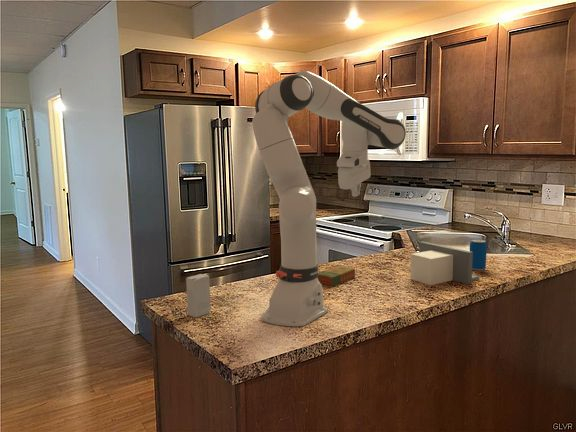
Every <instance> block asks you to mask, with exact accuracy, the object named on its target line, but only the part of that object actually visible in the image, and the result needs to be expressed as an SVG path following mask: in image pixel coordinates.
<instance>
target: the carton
mask: <svg viewBox="0 0 576 432" xmlns="http://www.w3.org/2000/svg"><path fill="white" fill-rule="evenodd" d="M317 278H318V280H319V282H320V283H321V285H322V286H325V287H329V288H333V287H336V286H338V285H341V284H343V283H346V282H348V281H350V280H353V279H355V278H356V269H355V268H354V267H349V266H343V265H335V266H333V267H330V268H327V269H325V270H322V271H318V277H317Z"/></svg>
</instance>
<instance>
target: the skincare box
mask: <svg viewBox="0 0 576 432" xmlns="http://www.w3.org/2000/svg"><path fill="white" fill-rule="evenodd" d="M185 282H186V283H185V284H186V286H185V287H186V303H187V308H186V309H187V315H188V316H189V317H193V318H199V317H202V316H204V315H207V314H209V313H211V311H212V309H211V285H210V276H209V275H208V274H203V273H199V274H196V275H191V276H188V277H185Z"/></svg>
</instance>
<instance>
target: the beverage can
mask: <svg viewBox="0 0 576 432" xmlns="http://www.w3.org/2000/svg"><path fill="white" fill-rule="evenodd" d="M487 248H488V243H487V240H485V239H479V238H478V239H476V238H474V239H471V240H470V242H469V251H471V252H473V260H472V271H484V270H485V269H487Z"/></svg>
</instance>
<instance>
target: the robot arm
mask: <svg viewBox="0 0 576 432" xmlns="http://www.w3.org/2000/svg"><path fill="white" fill-rule="evenodd" d="M254 105H255V106H254V109H255V114H254V116H253V117H252V121H251V123H252V124H251V125H252V130H253V134H254V138H255V142H256V145H257V148H258V151H259V154H260V156H261V159H262V162H263V165H264V167H265V169H266V173H267V175H268V176H269V178H270V181H271V183H272V186H273V187H274V189H275V192H276V194H277V196H278V198H279V202H278V218H279V229H280V230H279V231H280V245H281V246H280V248H281V249H280V251H281V252H280V254H281V255H280V256H281V257H280V258H281V259H280V260H281V261H280V263H281V264H280V267H279V270H276V272H275V276H276V278H278V281H277V283H276V285H275V287H274V289H273V291H272V294H271V295H270V297H269V305H268V308H267V309H266V310H265V311H264V313H263V314H262V316H261V318H260V319H261V321H263V322H265V323H268V324H271V325H277V326H283V327H284V326H285V327H304V326H306V325H308V324H309V323H311V322H314V320H316V319H318V318H320V317H321V316H324V315H326V313H328V312H329V309H328V307H327V306H324V291H323V285H321V283H320V282H319V280H318V278H317V277H318V273H319V266H318V264H317V263H318V262H317V261H318V260H317V252H318V251H317V197H316V194H315V191H314V189H313V186H312V183H311V181H310V178H309V176H308V174H307V170H306V168H305V166H304V164H303V160H302V158H301V155H300V153H299V151H298V148H297V145H296V142H295V139H294V136H293V134H292V132H291V129H290V127H289V118H290V117H292V116H294V115H295V114H297V113H299V112H300V111H302V110H304V109H306V110H308V111H310V113H312V114H315V115H316V116H318V117H321V118H324V119H326V120H327V119H328V120H330V121H331V120H332V121H339V122H341V140H342V148H341V151H342V152H341V154H340V157H339V158H338V159H337V161H336V167H337V168H338V170H337V177H338V178H337V179H338V180H337V181H338V187H339V188H340V189H341V190H350V191H351V196H352V197H358V196H359V195H361V187H362V182H364V181H366V180H368V179H370V178H371V162H370V159H369V158H368V155H369V153H368V152H369V151H368V146H374V147H379V148H385V149H388V150H391V151H392V150H397V149H398V148H400V147H401V145H402V144H403V143H404V141H405V139H406V134H407V133H406V127H405V124H404V123H403V121H401V120H400V119H396V118H388V117H385V116H383V115H382V114H379V113H377V112H376V111H374V110H373V109H371V108H369V107H367V106H366V105H364V104H362V103H360V102H359V101H357V100H356V99H355V98H352V96H350V95H348V94H346V93H345V92H344V91H342V89H340V88H339V87H337V86H336V85H334V84H333V83H331V82H330V81H328V80H326V79H325V78H324V77H321V76H320V75H317V74H315V73H313V72H310V71H308V70H299V71H297V72H296V73H295V74H290V75H288V76H285V77H284V78H283V79H281V80H278V81H277V82H274V83H272V84H271V85H269V86H268V87H267V88H266V89H264V90H262V91H261V92H260V94H259V95H258V96H257V97H256V100H255V103H254Z"/></svg>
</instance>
